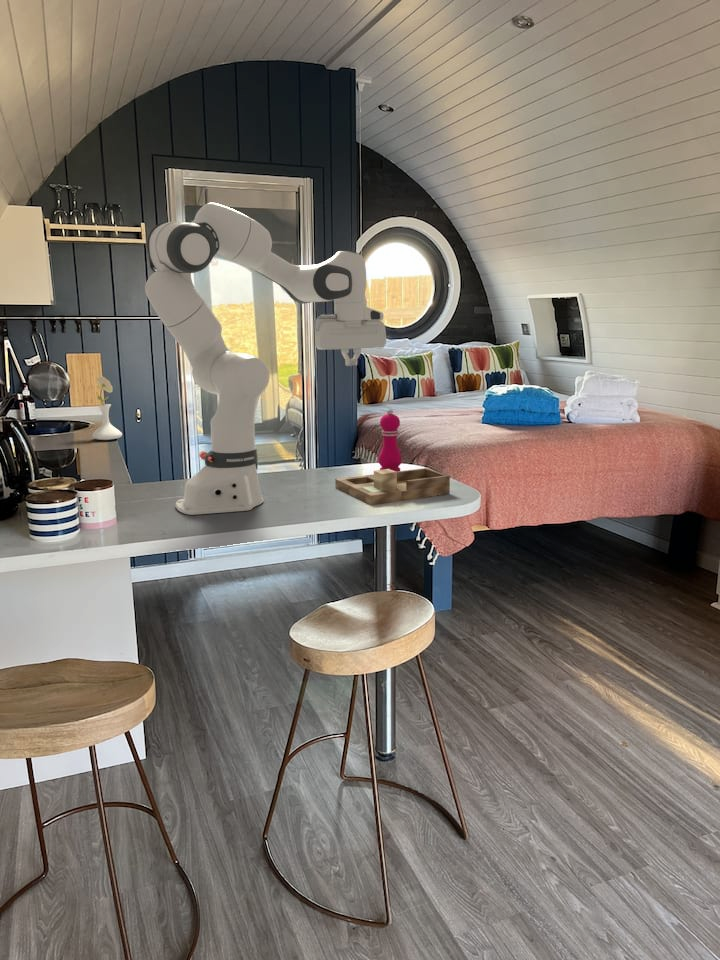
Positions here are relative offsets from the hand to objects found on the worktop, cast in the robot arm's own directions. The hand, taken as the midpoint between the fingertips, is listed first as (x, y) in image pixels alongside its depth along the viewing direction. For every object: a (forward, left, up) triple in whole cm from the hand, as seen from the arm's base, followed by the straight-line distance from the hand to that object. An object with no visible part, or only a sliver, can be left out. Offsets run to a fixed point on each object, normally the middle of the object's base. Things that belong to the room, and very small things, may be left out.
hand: (351, 365), depth 205 cm
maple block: (+2, -15, -32) cm, 35 cm away
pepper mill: (+17, +9, -34) cm, 39 cm away
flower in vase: (-50, +121, -34) cm, 135 cm away
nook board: (+7, -10, -34) cm, 36 cm away
